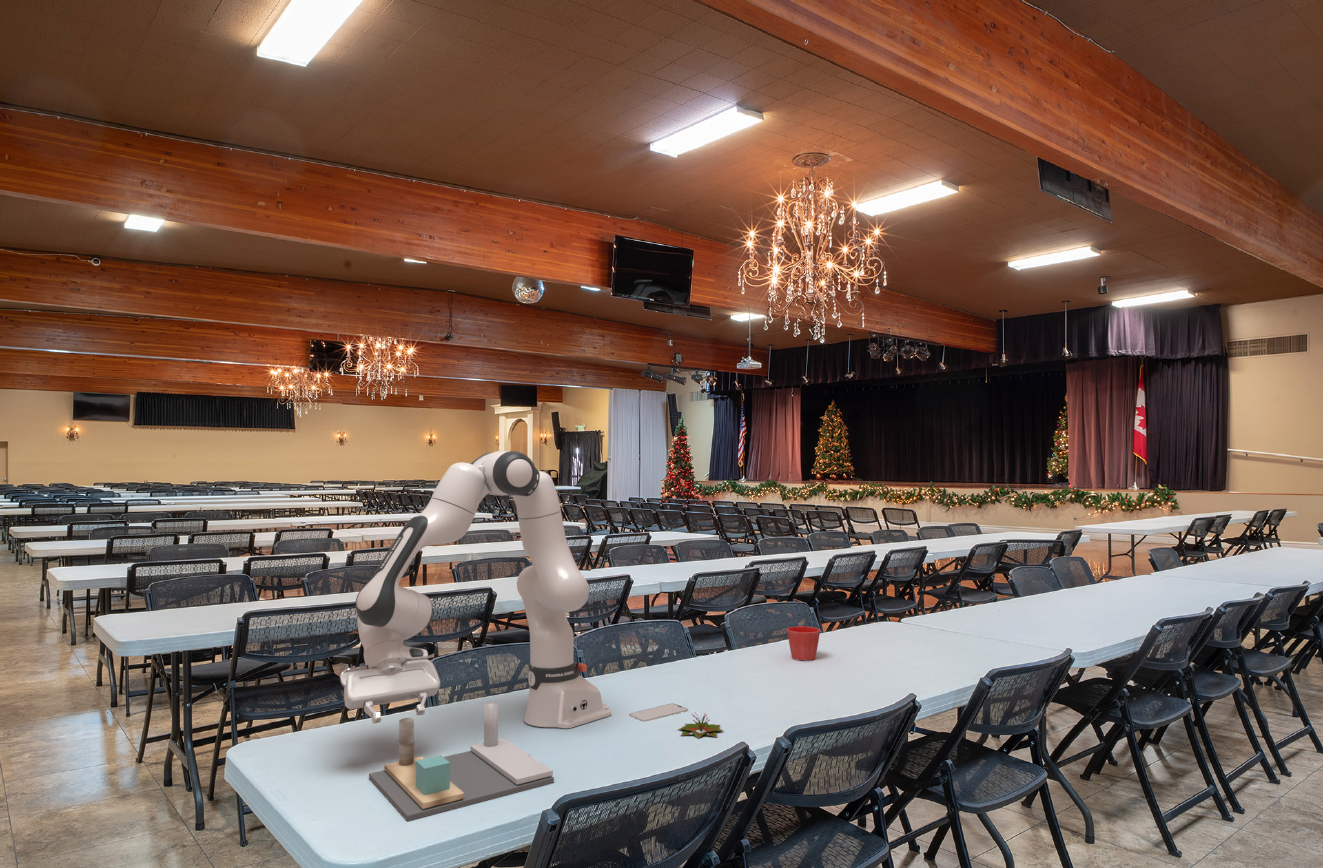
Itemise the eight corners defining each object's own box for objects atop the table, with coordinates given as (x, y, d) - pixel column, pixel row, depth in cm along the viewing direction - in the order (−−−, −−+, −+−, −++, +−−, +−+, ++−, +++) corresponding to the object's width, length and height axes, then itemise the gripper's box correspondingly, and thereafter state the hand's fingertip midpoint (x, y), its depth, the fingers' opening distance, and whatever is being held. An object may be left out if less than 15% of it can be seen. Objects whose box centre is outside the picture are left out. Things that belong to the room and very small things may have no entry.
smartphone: (627, 714, 207) (672, 702, 216) (627, 716, 207) (672, 705, 216) (643, 721, 201) (689, 709, 210) (643, 723, 201) (689, 711, 210)
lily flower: (723, 742, 187) (722, 722, 188) (672, 740, 189) (672, 720, 190) (727, 725, 199) (727, 707, 199) (679, 723, 201) (679, 705, 201)
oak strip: (421, 761, 172) (422, 714, 172) (464, 798, 152) (464, 745, 153) (384, 769, 167) (384, 721, 168) (422, 808, 148) (423, 754, 148)
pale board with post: (503, 742, 183) (503, 698, 183) (552, 775, 164) (552, 725, 164) (470, 750, 178) (470, 704, 179) (516, 784, 159) (516, 733, 159)
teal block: (440, 780, 159) (440, 755, 159) (449, 788, 154) (449, 762, 155) (415, 786, 156) (415, 760, 156) (424, 795, 152) (424, 768, 152)
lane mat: (502, 747, 183) (502, 743, 183) (553, 782, 163) (553, 777, 163) (368, 778, 166) (368, 773, 166) (407, 821, 146) (407, 815, 146)
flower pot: (801, 653, 274) (800, 624, 275) (826, 658, 266) (826, 629, 266) (780, 657, 268) (780, 628, 268) (806, 663, 259) (805, 633, 260)
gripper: (341, 661, 172) (352, 718, 164) (433, 648, 184) (448, 701, 176) (335, 677, 176) (346, 734, 168) (427, 664, 188) (441, 717, 179)
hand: (399, 717), depth 172 cm, fingers open, 8 cm apart
